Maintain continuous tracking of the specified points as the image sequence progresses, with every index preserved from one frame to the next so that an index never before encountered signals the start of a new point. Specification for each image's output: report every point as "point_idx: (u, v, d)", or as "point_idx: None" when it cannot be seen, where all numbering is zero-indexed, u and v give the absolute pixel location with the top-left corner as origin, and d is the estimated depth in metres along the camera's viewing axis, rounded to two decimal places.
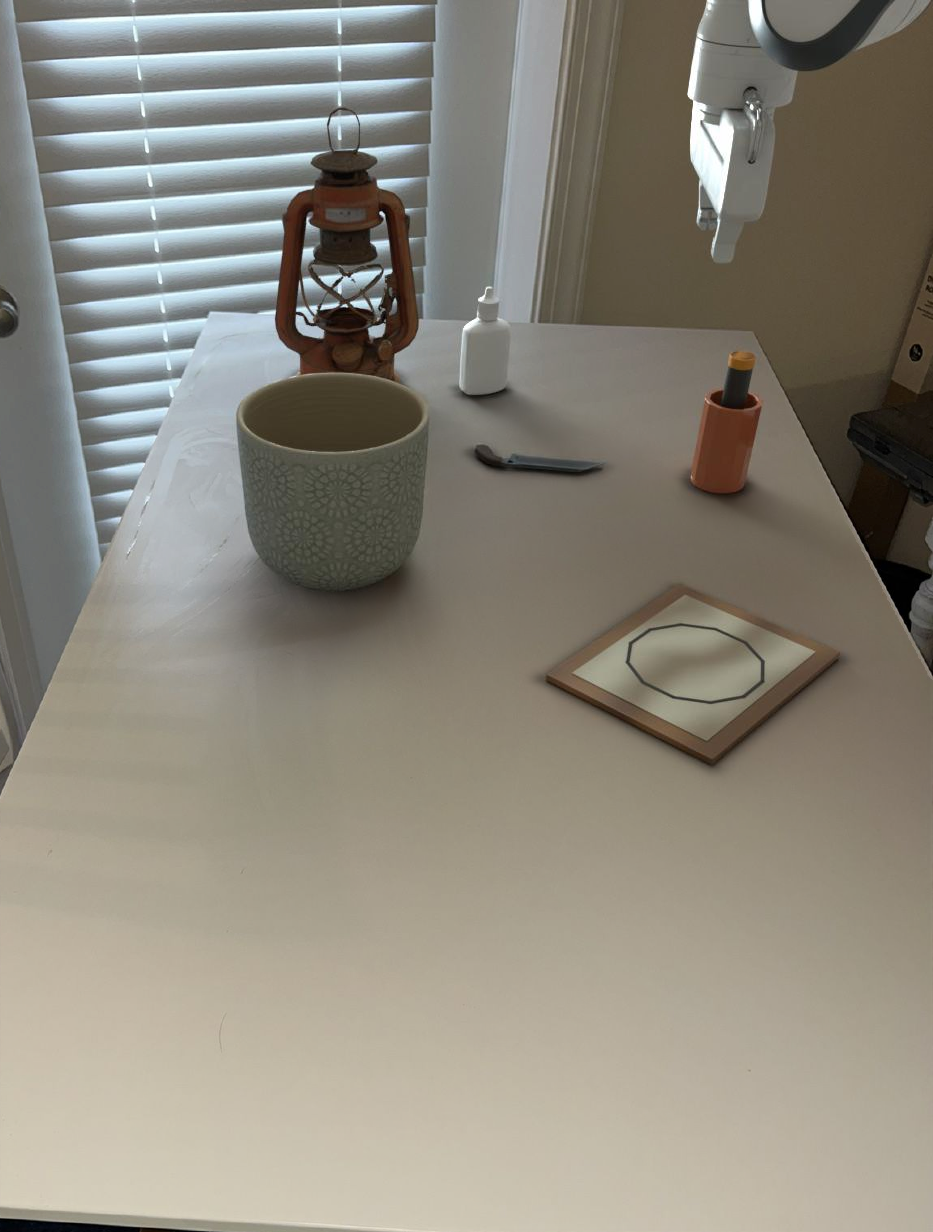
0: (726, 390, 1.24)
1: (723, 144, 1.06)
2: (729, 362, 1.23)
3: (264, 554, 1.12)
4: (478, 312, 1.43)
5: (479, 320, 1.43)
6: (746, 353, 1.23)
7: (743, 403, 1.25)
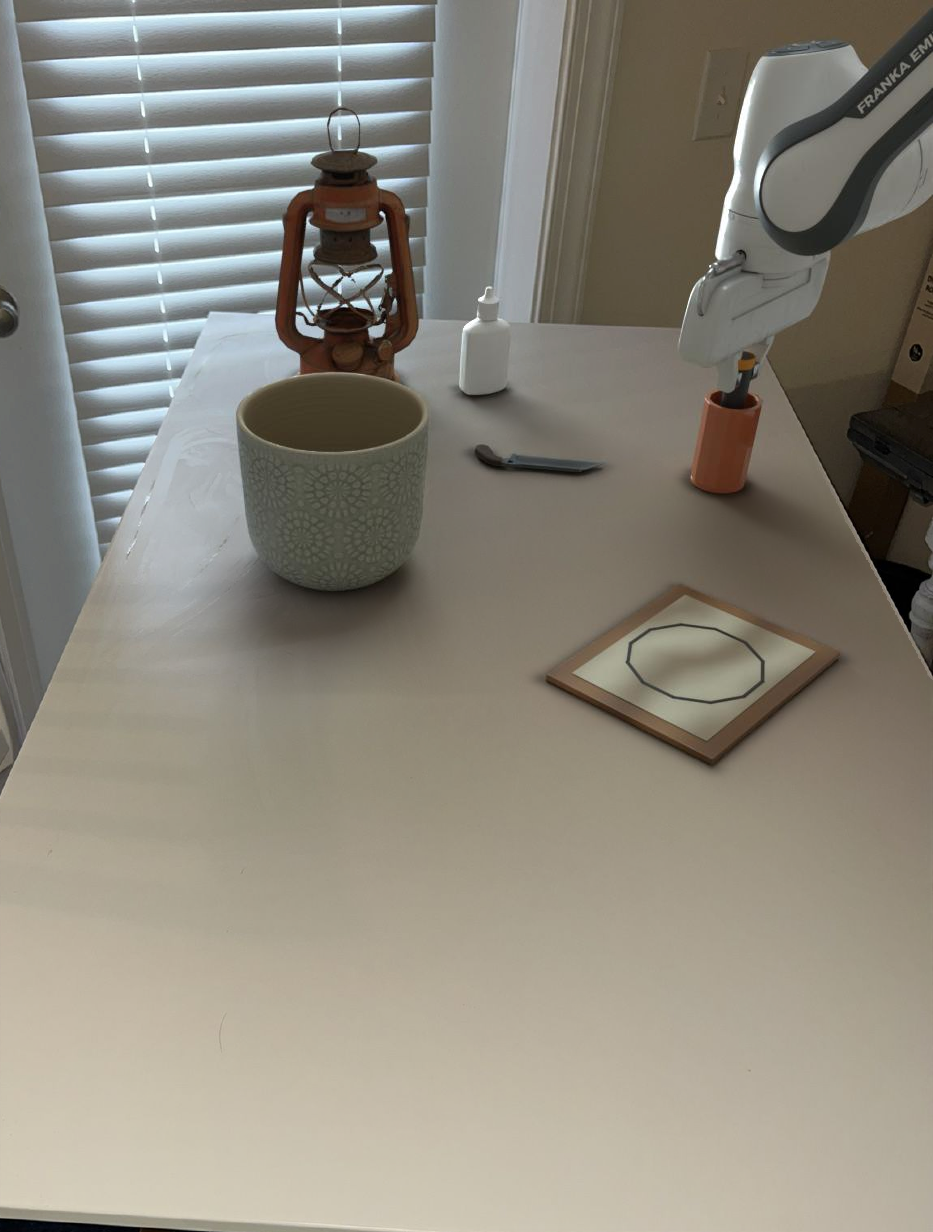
0: None
1: None
2: None
3: (264, 554, 1.12)
4: (478, 312, 1.43)
5: (479, 320, 1.43)
6: (746, 353, 1.23)
7: (743, 403, 1.25)
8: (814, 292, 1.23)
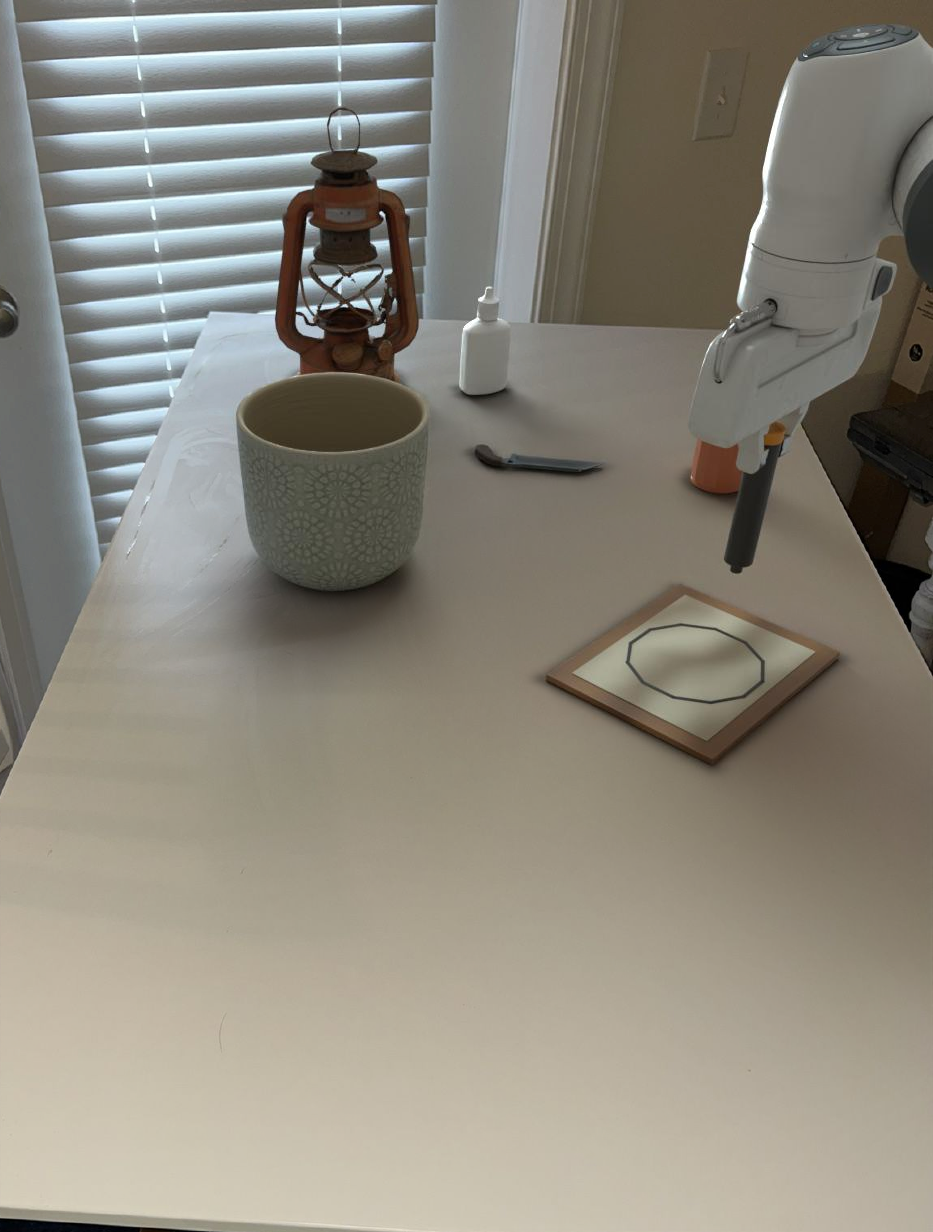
0: None
1: None
2: None
3: (264, 554, 1.12)
4: (478, 312, 1.43)
5: (479, 320, 1.43)
6: (773, 423, 0.98)
7: (769, 485, 1.00)
8: (860, 348, 0.98)
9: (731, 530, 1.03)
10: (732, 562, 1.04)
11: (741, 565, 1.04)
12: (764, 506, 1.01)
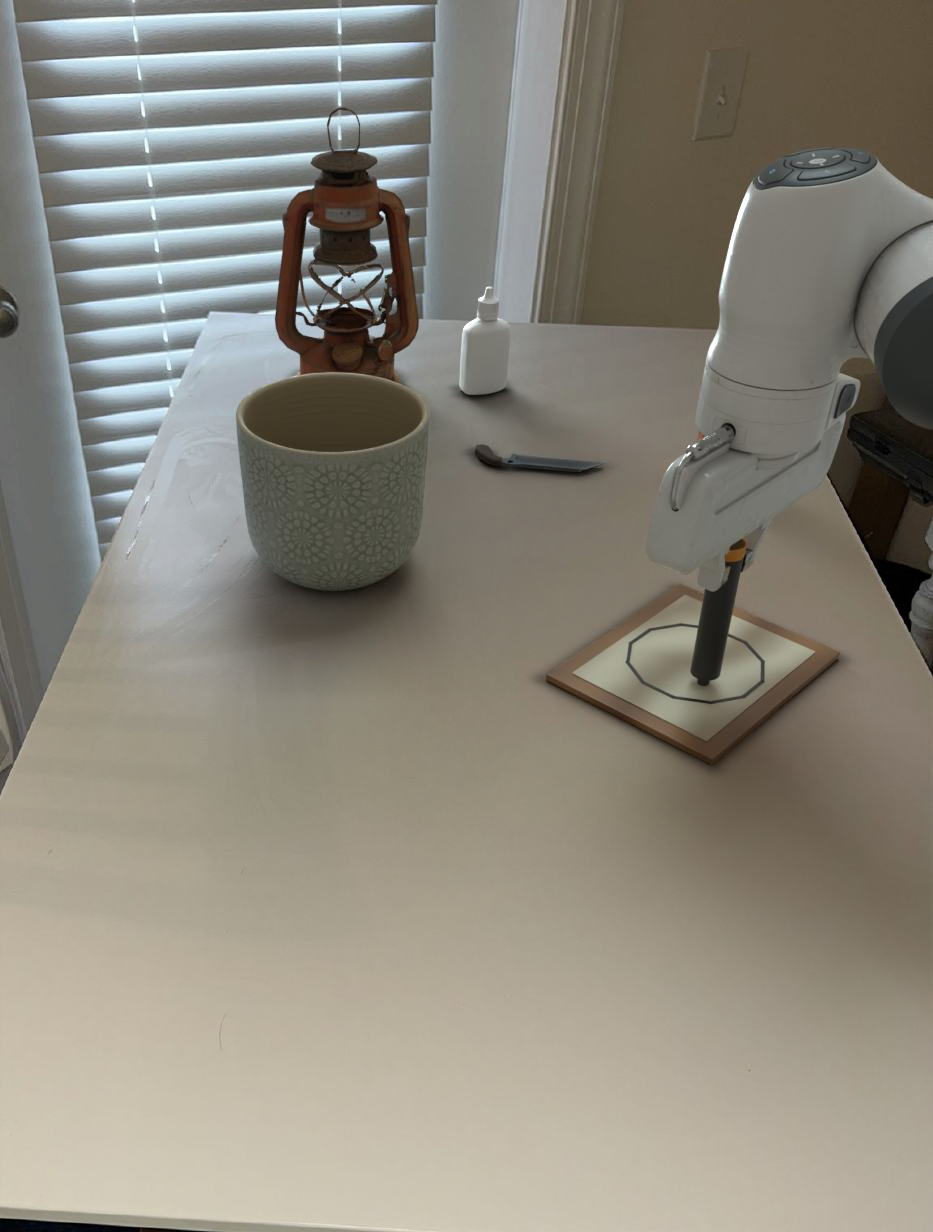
0: None
1: None
2: None
3: (264, 554, 1.12)
4: (478, 312, 1.43)
5: (479, 320, 1.43)
6: None
7: (732, 599, 0.96)
8: (824, 460, 0.95)
9: (696, 643, 1.00)
10: (698, 675, 1.01)
11: (708, 678, 1.01)
12: (728, 620, 0.98)
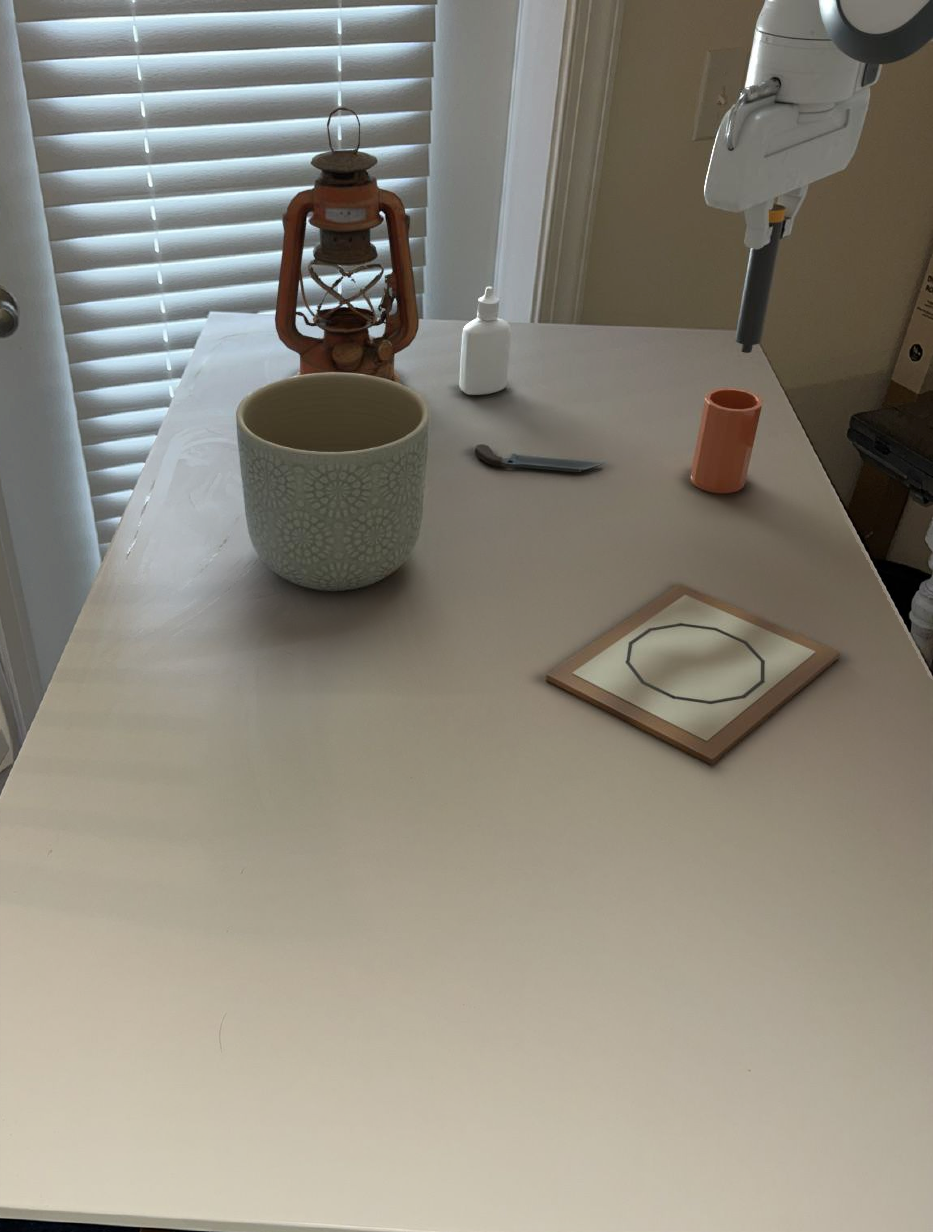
0: None
1: None
2: None
3: (264, 554, 1.12)
4: (478, 312, 1.43)
5: (479, 320, 1.43)
6: (775, 205, 1.12)
7: (773, 262, 1.13)
8: (851, 139, 1.12)
9: (741, 310, 1.17)
10: (743, 340, 1.18)
11: (751, 342, 1.18)
12: (769, 284, 1.15)
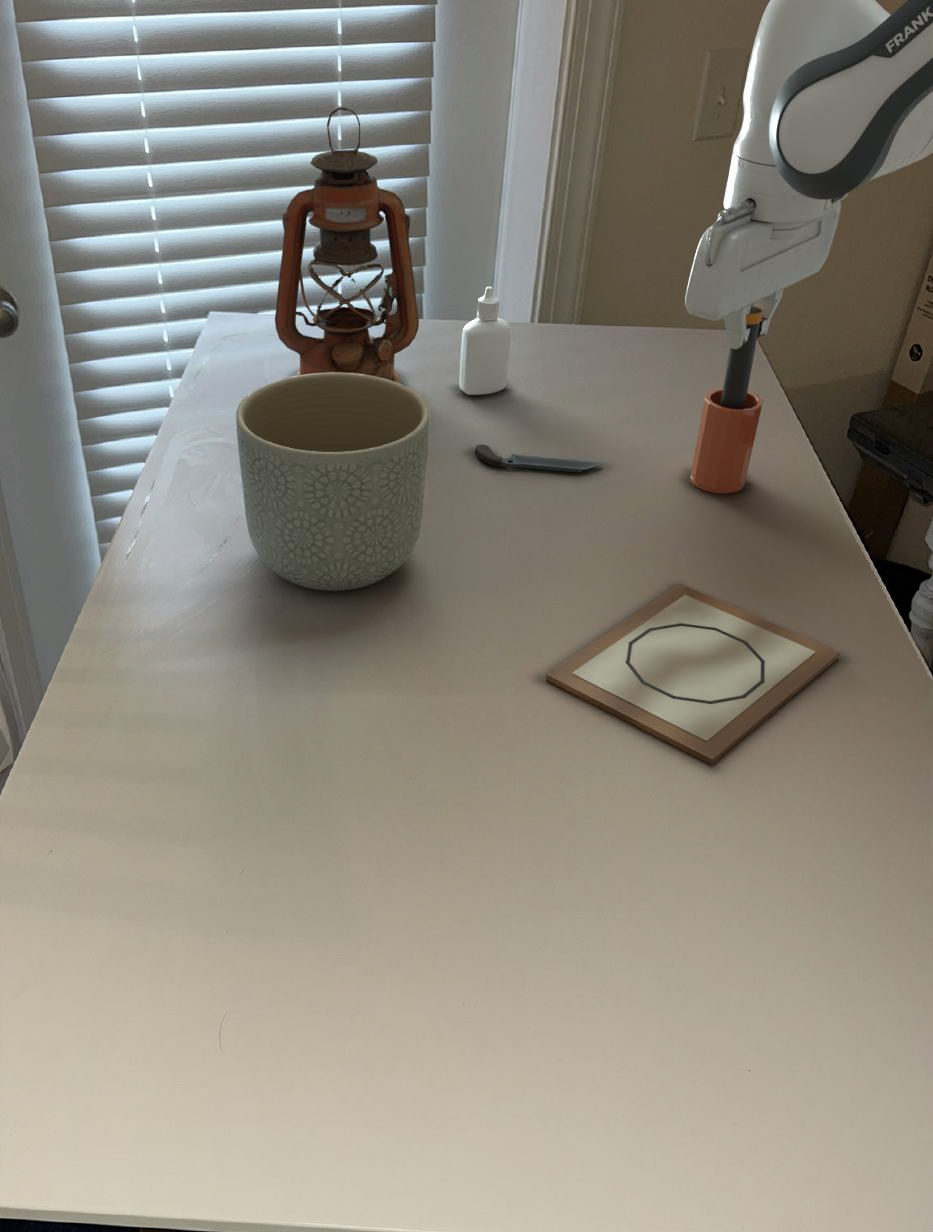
0: None
1: None
2: None
3: (264, 554, 1.12)
4: (478, 312, 1.43)
5: (479, 320, 1.43)
6: (752, 307, 1.20)
7: (750, 359, 1.22)
8: (824, 246, 1.20)
9: (721, 401, 1.25)
10: None
11: None
12: (747, 378, 1.23)
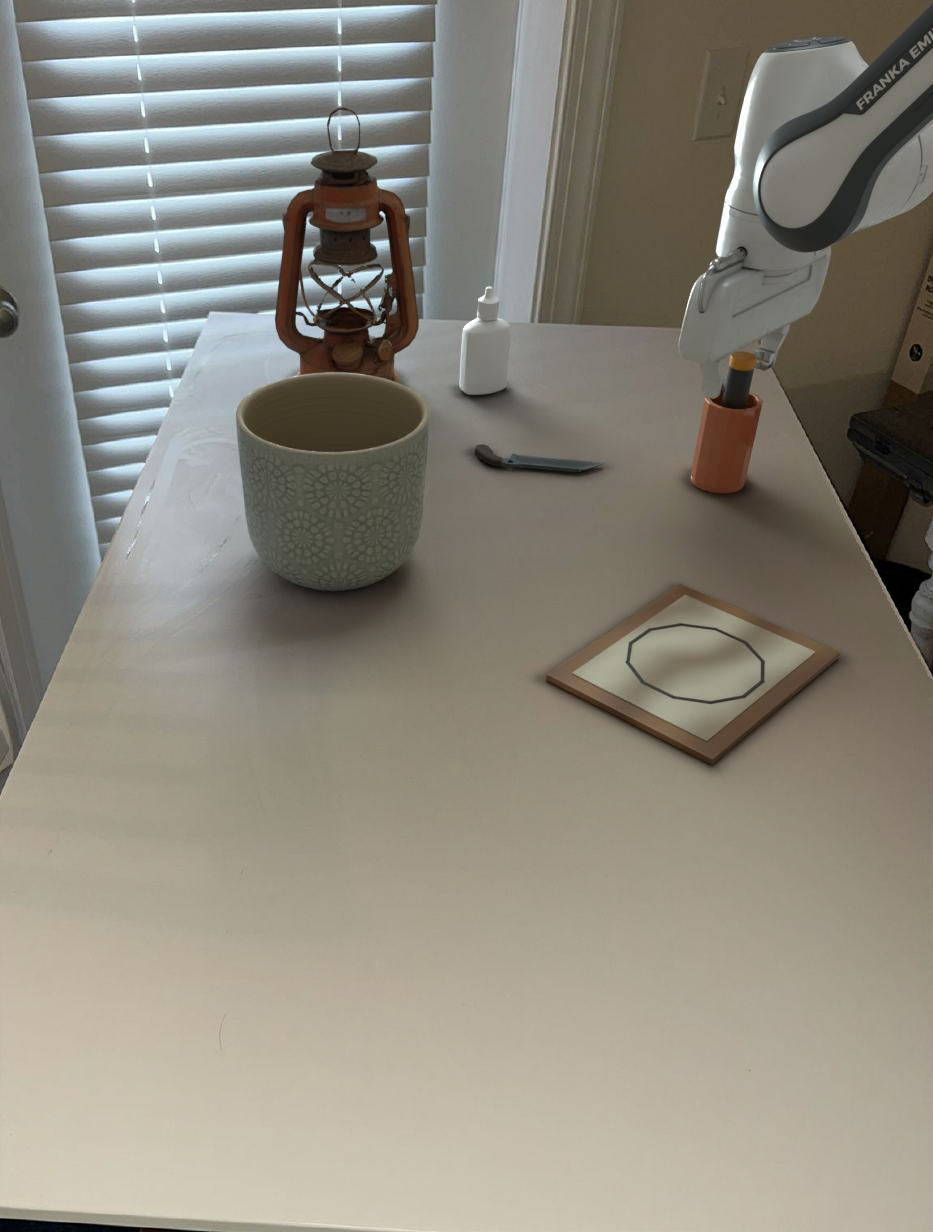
0: (727, 391, 1.24)
1: None
2: (730, 362, 1.23)
3: (264, 554, 1.12)
4: (478, 312, 1.43)
5: (479, 320, 1.43)
6: (747, 353, 1.23)
7: (744, 404, 1.24)
8: (815, 289, 1.23)
9: None
10: None
11: None
12: None
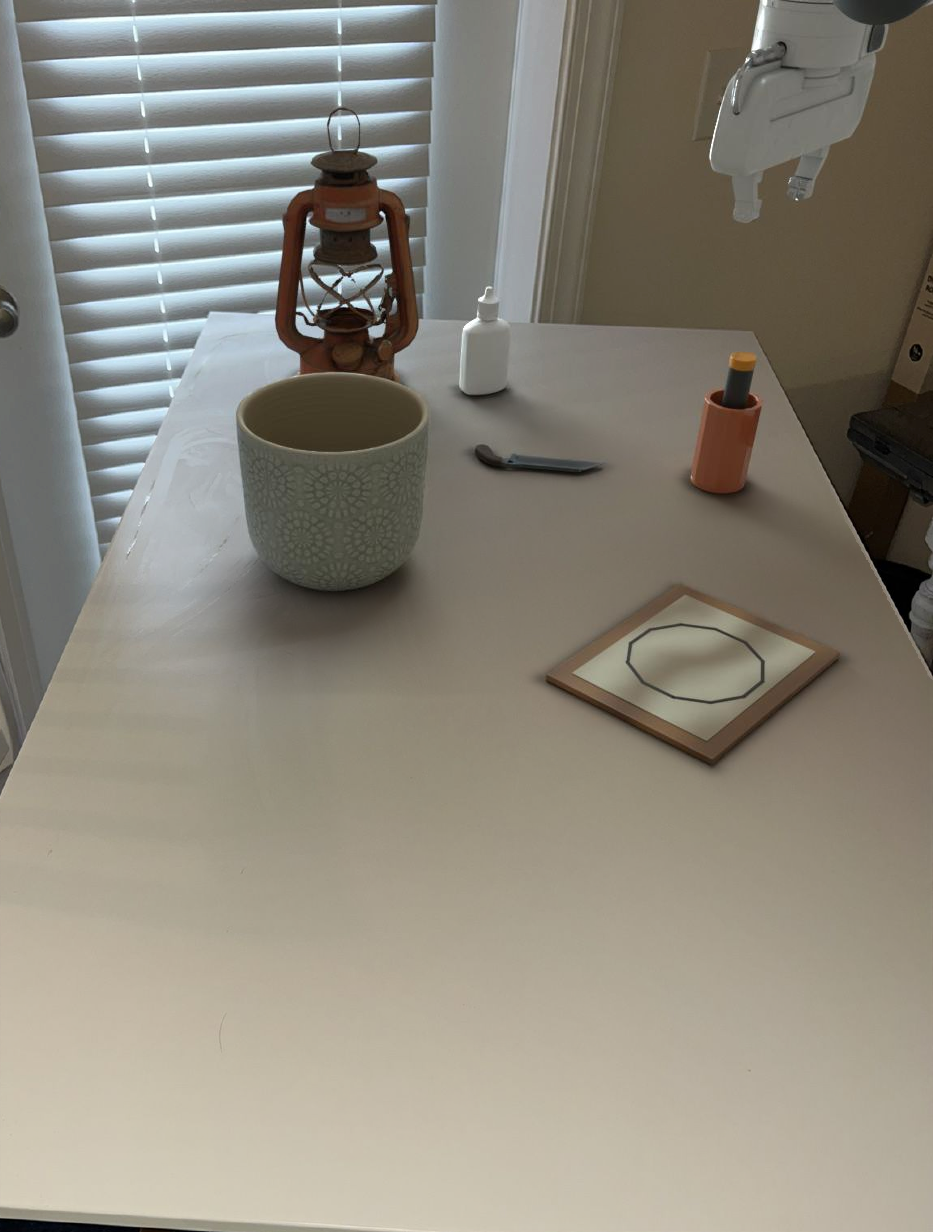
0: (727, 391, 1.24)
1: None
2: (730, 363, 1.22)
3: (264, 554, 1.12)
4: (478, 312, 1.43)
5: (479, 320, 1.43)
6: (747, 354, 1.23)
7: (744, 404, 1.24)
8: (857, 107, 1.12)
9: None
10: None
11: None
12: None
